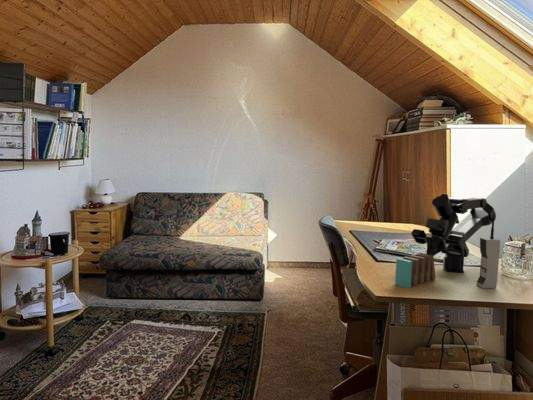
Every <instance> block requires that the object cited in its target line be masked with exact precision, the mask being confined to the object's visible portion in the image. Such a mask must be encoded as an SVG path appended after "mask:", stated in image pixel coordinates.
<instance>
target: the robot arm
mask: <svg viewBox="0 0 533 400" xmlns="http://www.w3.org/2000/svg"><path fill="white" fill-rule="evenodd" d="M431 205H432V206H433V208H434V210H435V212H436V215H438V217H439V219H436V218H429V217H428V218H427V220H426V223H425V228H427V229H428V232H429V233H426V232H425V230H424V229H419V228H413V230H412V231H411V233H410V235H411V236H412V238H413V240H414V241H415V243H416V244H421V245H425V244H426V252H425V254H428V255H432V256H433V257H434V256H436V255H437V254H439V253H441V254H444V256H443V257H442V258H443V261H442V268H443V269H444V271H446V272H450V273H451V272H453V273H465V270H464V263H465V258H468V256H469V254H470V253H469V252H470V250H469V247H468V245H467V241H468V240H469V239H470V238H472V236H473V235H475V233H476V232H477V231H479V230H480V229H481V228H483V227H487V226H490V225H492V217H493V215H495V218H494V222H495V221H496V218H497V214H496V211H495V208H494V207H493V206H492V205H491V204H489V203H488V202H487V199H486V198H483V197H475V196H474V197H470V198H457V197H449V195H448V193H441V195H438V196H435V198H433V199H432V200H431ZM468 210H469V213H470V216H471V218H470V219H469V220H467V222H466V223H465V224H464V225H462V226H461V227H460V228H459V229H458V230H454V227H455V225H456V224H460V220H459V217H458V215H459V214H460V215H464V214H465V213H467V212H468Z"/></svg>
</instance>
